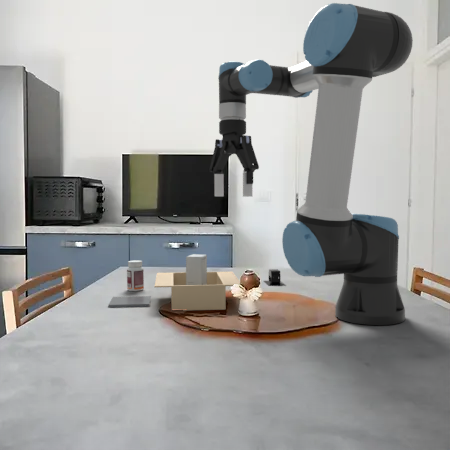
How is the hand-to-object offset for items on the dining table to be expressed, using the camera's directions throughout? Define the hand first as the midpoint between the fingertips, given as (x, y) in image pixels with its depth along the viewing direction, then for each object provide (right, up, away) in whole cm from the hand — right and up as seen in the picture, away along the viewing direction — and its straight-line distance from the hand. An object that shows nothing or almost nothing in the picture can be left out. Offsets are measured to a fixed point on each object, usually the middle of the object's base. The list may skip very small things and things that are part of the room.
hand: (232, 196), depth 149 cm
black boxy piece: (+13, -27, +16) cm, 34 cm away
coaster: (-27, -28, -13) cm, 41 cm away
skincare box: (-10, -28, -11) cm, 32 cm away
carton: (-10, -28, -11) cm, 31 cm away
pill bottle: (-28, -27, +5) cm, 39 cm away
